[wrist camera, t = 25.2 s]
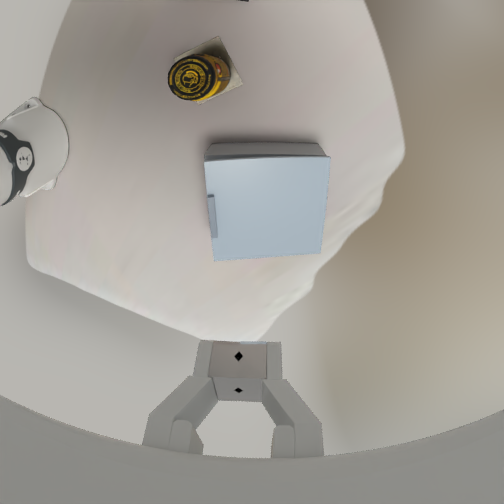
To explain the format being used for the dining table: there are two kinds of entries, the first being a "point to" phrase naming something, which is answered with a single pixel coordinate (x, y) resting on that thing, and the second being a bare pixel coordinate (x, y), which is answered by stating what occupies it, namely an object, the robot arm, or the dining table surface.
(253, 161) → the lid
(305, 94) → the dining table surface
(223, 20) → the dining table surface
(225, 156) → the housing
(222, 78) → the condiment
